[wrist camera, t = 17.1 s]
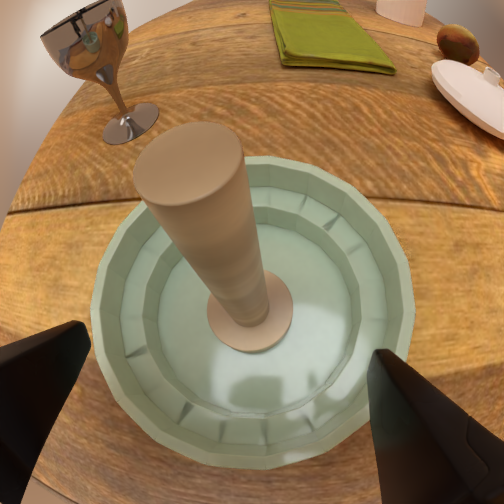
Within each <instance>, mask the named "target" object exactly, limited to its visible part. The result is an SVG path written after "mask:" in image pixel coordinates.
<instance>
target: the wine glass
mask: <svg viewBox="0 0 504 504" xmlns="http://www.w3.org/2000/svg"><path fill="white" fill-rule="evenodd" d="M40 38H41V40H42V42H43V44H44V46H45V48H46V50H47V51H48V53H49V55H50V56H51V58H52V59H53V60H54V61H55V63H56V64H57V65H58V66H59V67H60V68H61V69H62V70H63V71H64V72H65V73H67V74H68V75H70V76H72V77H75V78H79V79H83V80H88V81H92V82H95V83H98V84H100V85H101V86H103V87H104V88H105V89H106V90H107V91H108V92H109V94H110V95H111V96H112V98H113V99H114V101H115V102H116V104H117V106H118V108H119V110H120V113H118V114H117V115H116V116H114V117H113V118H112V119H111V120H110V121H109V123H108V124H107V125H106V127H105V129H104V131H103V140H104V141H105V142H106V143H108V144H114V145H115V144H121V143H125V142H128V141H130V140H132V139H134V138H136V137H138V136H140V135H141V134H142V133H144V132H145V131H146V130H148V129H149V128H150V127H151V126H152V125H153V124H154V122H155V121H156V119H157V118H158V115H159V109H158V107H157V106H156V105H154V104H151V103H141V104H137V105H133V106H131V107H129V108H126V106H125V104H124V102H123V100H122V97H121V94H120V91H119V88H118V84H117V73H118V69H119V66H120V63H121V61H122V58H123V56H124V53H125V51H126V49H127V45H128V40H129V34H128V24H127V18H126V14H125V10H124V6H123V3H122V0H99V1H97V2H94V3H92V4H90V5H88V6H86V7H84V8H82V9H80V10H79V11H77V12H75V13H73V14H72V15H70V16H68V17H66V18H65V19H63V20H62V21H60V22H59V23H57V24H56V25H54V26H53V27H51V28H50V29H49V30H47V31H46V32H45V33H44V34H43V35H41V36H40Z"/></svg>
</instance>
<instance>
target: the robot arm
mask: <svg viewBox="0 0 504 504" xmlns="http://www.w3.org/2000/svg"><path fill="white" fill-rule="evenodd" d="M90 349H91V340H90V338H89V335H88V332H87V329H86V326H85V324H84V323H83V322H80V321H76V320H72V321H70V322H67V323H64V324H62V325H59V326H56V327H53V328H51V329H48V330H45V331H43V332H40V333H37V334H35V335H32V336H29V337H27V338H24V339H21V340H19V341H16V342H13V343H10V344H8V345H5V346H2V347H0V502H1V503H2V504H21V501H22V498H23V495H24V492H25V490H26V487H27V485H28V482H29V479H30V477H31V474H32V471H33V469H34V467H35V464H36V462H37V460H38V457H39V455H40V453H41V451H42V448H43V446H44V444H45V442H46V440H47V437H48V435H49V433H50V431H51V429H52V427H53V425H54V423H55V421H56V419H57V417H58V415H59V413H60V411H61V409H62V407H63V405H64V403H65V401H66V399H67V397H68V396H69V394H70V392H71V390H72V388H73V386H74V384H75V382H76V380H77V378H78V376H79V373H80V371H81V369H82V366H83V364H84V362H85V360H86V357H87V355H88V353H89V351H90ZM367 387H368V400H369V414H370V424H371V431H372V436H373V442H374V448H375V454H376V461H377V468H378V475H379V482H380V490H381V499H382V504H504V441H502V440H501V439H499V438H498V437H497V436H495V435H494V434H492V433H491V432H490V431H488V430H487V429H486V428H485V427H483V426H482V425H481V424H480V423H478V422H477V421H476V420H475V419H474V418H472V417H471V416H469V415H468V414H467V413H466V412H465V411H464V410H463V409H461V408H460V407H459V406H458V405H457V404H455V403H454V402H453V401H452V400H451V399H449V398H448V397H447V396H446V395H445V394H443V393H442V392H441V391H440V390H439V389H437V388H436V387H435V386H434V385H432V384H431V383H430V382H429V381H428V380H426V379H425V378H424V377H423V376H422V375H420V374H419V373H418V372H417V371H415V370H414V369H413V368H412V367H411V366H409V365H408V364H407V363H406V362H404V361H403V360H402V359H401V358H400V357H398V356H397V355H396V354H395V353H393V352H392V351H391V350H390V349H388V348H382V349H375V350H374V351H373V353H372V356H371V360H370V363H369V366H368V370H367ZM468 416H469V417H468Z"/></svg>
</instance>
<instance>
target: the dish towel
mask: <svg viewBox="0 0 504 504" xmlns="http://www.w3.org/2000/svg"><path fill="white" fill-rule="evenodd" d="M269 8H270V13H271V18H272V22H273V28H274V33H275V37H276V42H277V46H278V49H279V54H280V58H281V62H282V64H283V65H289V66H318V67H333V68H342V69H353V70H361V71H371V72H379V73H385V74H396V72H397V70H396V68H395V66H394V64H393V63H392V61H391V60H390V59H389V58H388V57H387V55H386V54H385V53H384V52H383V50H382V49H381V48H380V47H379V46H378V44H377V43H376V42H375V41H374V40H373V39H372V38H371V37H370V36H369V35H368V34H367V33H366V32H365V31H364V30H363V29H362V27H361V26H360V25H359V24H358V23H357V22H356V21H355V20H354V19H353V18H352V17H351V16H350V15H349V14H348V13H347V12H346V10H345V9H344V8H343V7H342V6H341V5H340V4H339V2H338V1H337V0H269Z"/></svg>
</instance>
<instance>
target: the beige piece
mask: <svg viewBox="0 0 504 504" xmlns="http://www.w3.org/2000/svg"><path fill="white" fill-rule="evenodd" d="M133 181H134V186H135V189H136V190H137V192H138V194H139V195H140V197H141V198H142V200H143V201H144V202H145V204H146V205H147V207H148V208H149V210H150V211H151V212H152V214H153V215H154V217H155V218H156V220H157V221H158V222H159V224H160V225H161V226H162V228H163V229H164V231H165V232H166V233H167V235H168V236H169V238H170V239H171V240H172V242H173V243H174V244H175V246H176V247H177V248H178V250H179V251H180V252H181V254H182V255H183V256H184V258H185V259H186V260H187V262H188V263H189V264H190V266H191V267H192V268H193V270H194V271H195V272H196V274H197V275H198V276H199V277H200V279H201V280H202V281H203V283H204V284H205V285H206V286H207V288H208V289H209V290H210V292H211V293H210V296H209V299H208V303H207V318H208V322H209V325H210V327H211V329H212V331H213V333H214V334H215V335H216V337H217V338H218V339H219V340H220V341H222V342H223V343H224V344H226V345H227V346H229V347H231V348H232V349H234V350H237V351H240V352H243V353H260V352H264V351H266V350H269V349H271V348H273V347H274V346H276V345H277V344H278V343H279V342H280V341H281V340H282V339H283V338H284V337H285V336H286V334H287V332H288V330H289V328H290V325H291V322H292V317H293V300H292V297H291V294H290V291H289V289H288V288H287V286H286V284H285V283H284V282H283V281H282V280H281V279H280V278H279V277H278V276H276V275H275V274H273V273H271V272H269V271H267V270H264V269H263V264H262V258H261V252H260V246H259V240H258V234H257V228H256V222H255V216H254V210H253V204H252V199H251V193H250V187H249V181H248V175H247V170H246V164H245V158H244V152H243V147H242V144H241V141H240V139H239V138H238V136H237V135H236V134H235V133H234V132H233V131H232V130H231V129H229V128H227V127H226V126H223V125H221V124H218V123H214V122H204V121H203V122H191V123H186V124H182V125H179V126H176V127H174V128H171V129H169V130H167V131H165V132H164V133H162V134H160V135H159V136H157V137H156V138H155V139H154V140H152V141H151V142H150V143H149V144H148V145H147V146H146V147H145V148H144V150H143V151H142V152H141V154H140V155H139V157H138V159H137V161H136V163H135V166H134V171H133Z"/></svg>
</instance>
